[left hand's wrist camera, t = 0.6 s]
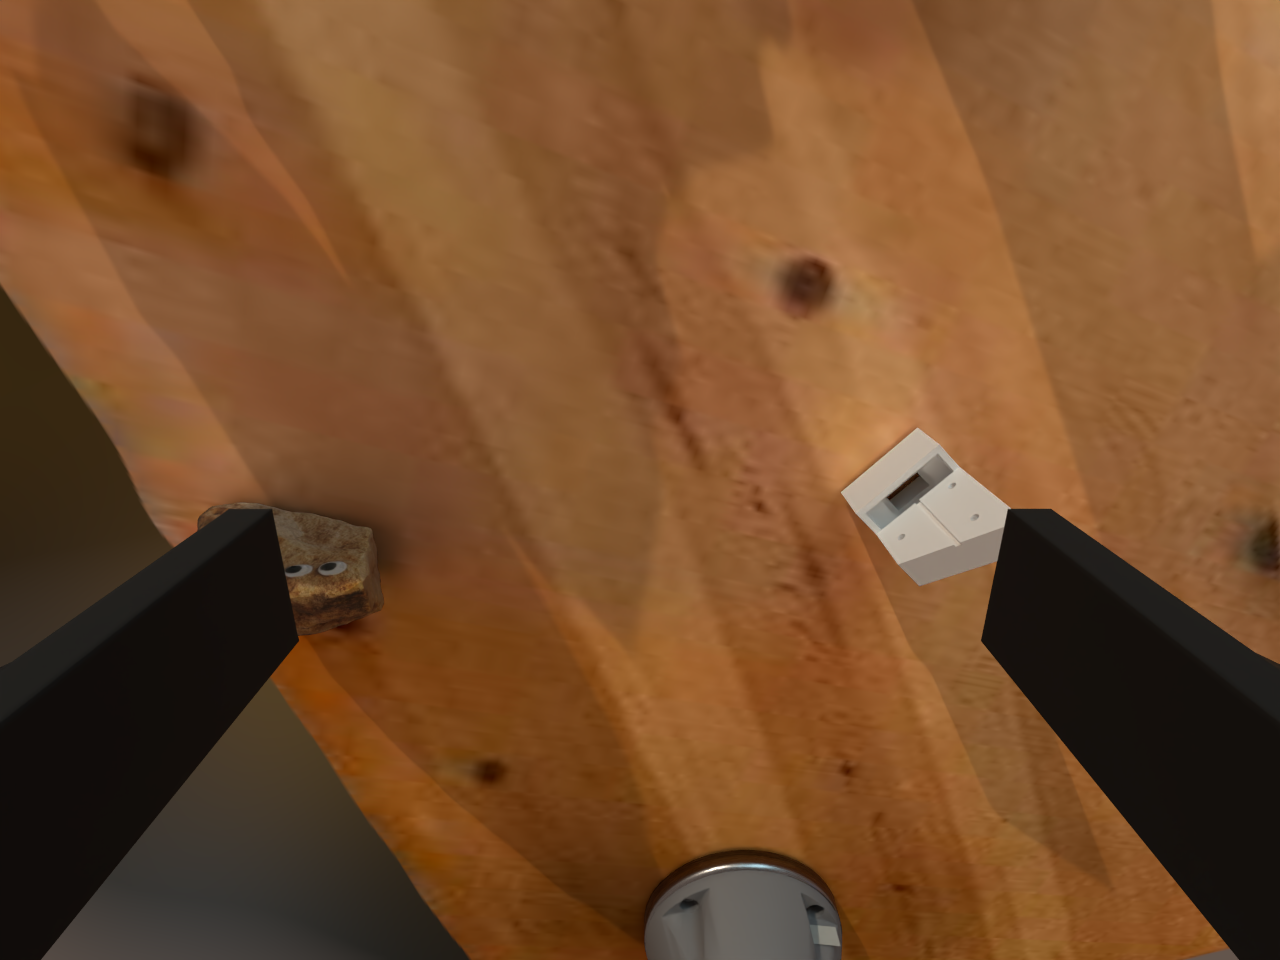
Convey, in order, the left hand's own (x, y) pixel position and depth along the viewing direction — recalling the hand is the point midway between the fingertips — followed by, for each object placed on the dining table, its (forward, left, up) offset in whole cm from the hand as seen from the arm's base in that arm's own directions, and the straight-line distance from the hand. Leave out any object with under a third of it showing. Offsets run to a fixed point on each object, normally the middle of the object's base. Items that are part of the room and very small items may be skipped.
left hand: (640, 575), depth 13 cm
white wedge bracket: (-8, -16, -28) cm, 33 cm away
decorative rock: (-14, +19, -28) cm, 36 cm away
